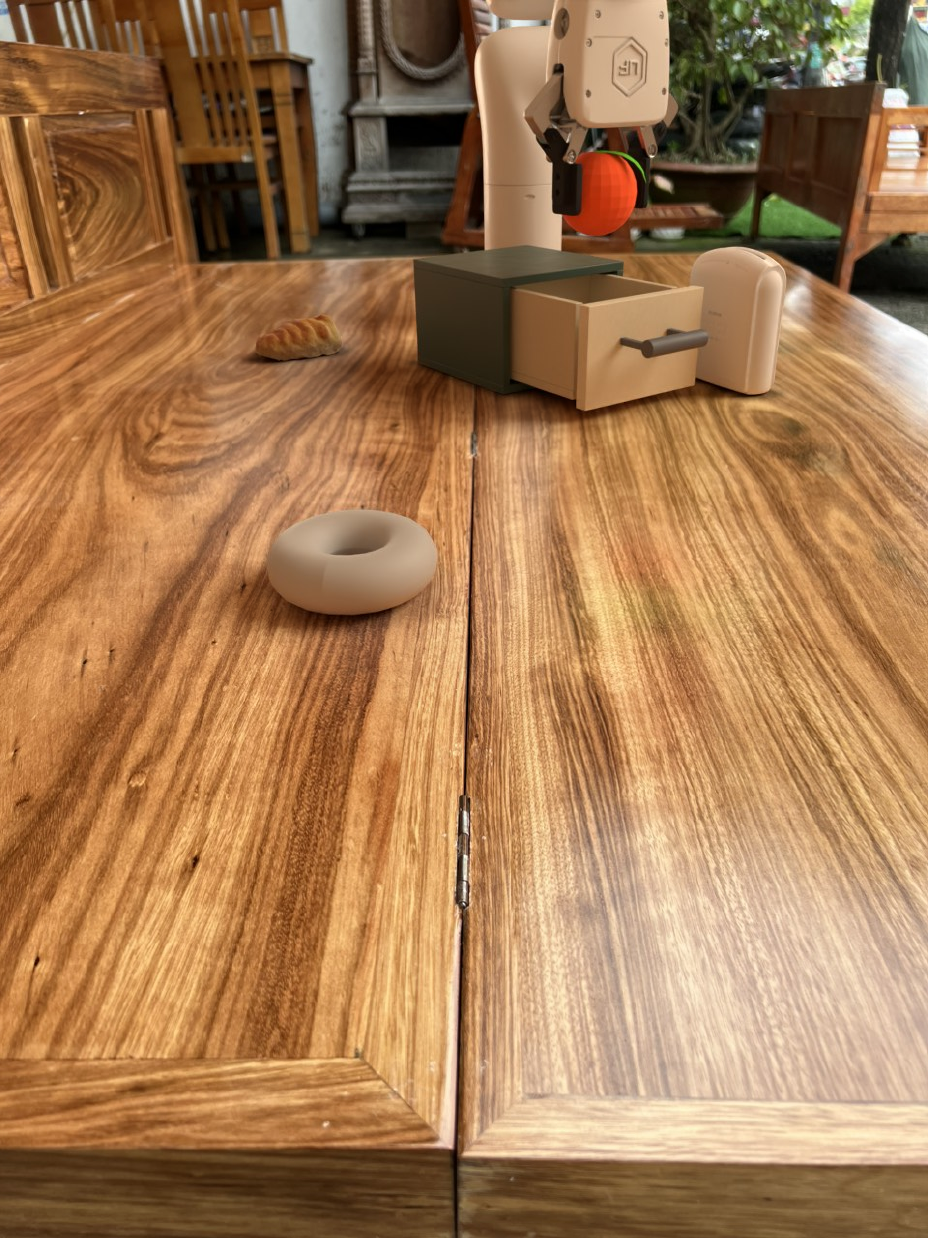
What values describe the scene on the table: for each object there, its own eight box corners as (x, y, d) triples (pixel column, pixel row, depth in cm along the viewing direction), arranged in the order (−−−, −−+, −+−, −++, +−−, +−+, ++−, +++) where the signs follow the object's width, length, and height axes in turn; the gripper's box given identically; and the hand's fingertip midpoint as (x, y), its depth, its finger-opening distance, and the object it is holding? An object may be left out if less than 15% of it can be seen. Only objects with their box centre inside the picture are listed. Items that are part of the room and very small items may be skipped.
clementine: (658, 233, 86) (664, 144, 82) (626, 243, 81) (632, 149, 77) (577, 229, 89) (580, 144, 86) (542, 238, 84) (544, 149, 81)
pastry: (274, 366, 103) (269, 330, 101) (245, 356, 108) (240, 321, 106) (348, 351, 108) (345, 317, 106) (317, 342, 113) (313, 309, 111)
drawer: (729, 395, 86) (740, 293, 82) (618, 423, 80) (624, 314, 76) (592, 355, 100) (596, 267, 96) (488, 377, 94) (487, 283, 89)
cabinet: (618, 369, 98) (623, 261, 93) (503, 394, 91) (502, 278, 86) (526, 342, 110) (526, 244, 105) (417, 363, 103) (412, 258, 98)
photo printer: (675, 374, 96) (686, 243, 90) (709, 368, 98) (722, 239, 92) (743, 398, 88) (760, 257, 82) (779, 392, 90) (799, 252, 84)
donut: (433, 548, 61) (276, 553, 61) (432, 497, 60) (271, 502, 59) (444, 623, 53) (260, 631, 52) (443, 566, 51) (253, 573, 50)
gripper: (553, -45, 68) (548, 223, 77) (723, -35, 77) (702, 205, 85) (492, -34, 74) (494, 215, 82) (657, -26, 82) (643, 200, 91)
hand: (600, 208), depth 84 cm, fingers closed on clementine, 7 cm apart
